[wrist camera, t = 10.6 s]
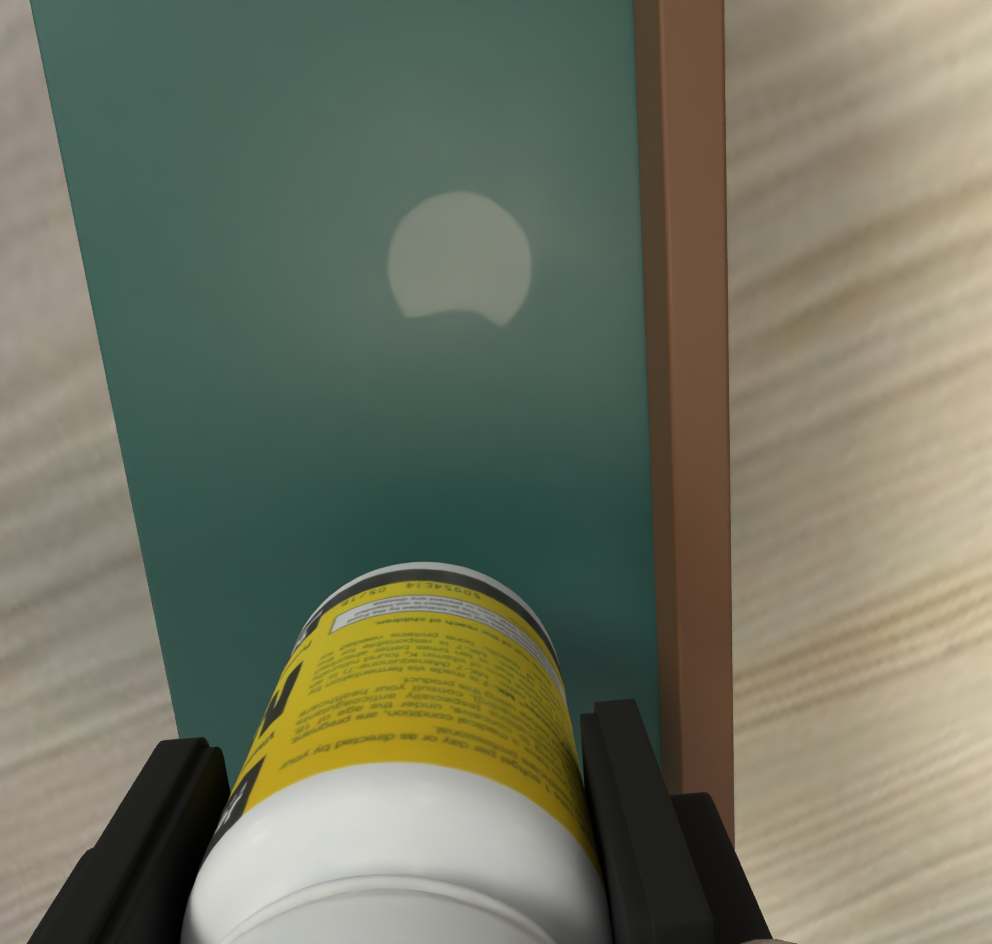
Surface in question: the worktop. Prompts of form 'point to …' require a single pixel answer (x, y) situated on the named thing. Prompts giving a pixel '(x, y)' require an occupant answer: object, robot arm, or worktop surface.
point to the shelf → (416, 328)
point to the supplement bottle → (409, 781)
